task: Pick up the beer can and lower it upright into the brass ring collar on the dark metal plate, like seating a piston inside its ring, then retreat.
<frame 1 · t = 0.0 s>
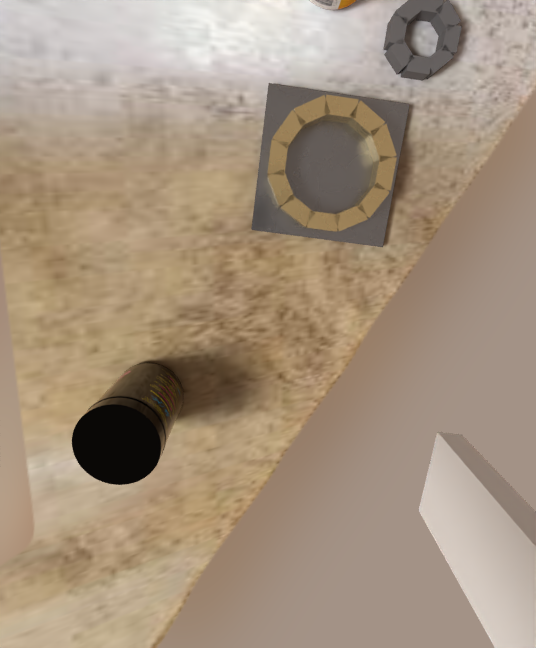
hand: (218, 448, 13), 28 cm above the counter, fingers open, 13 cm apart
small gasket: (418, 42, 35), on the counter
collar block: (326, 169, 37), on the counter
supplement container: (152, 391, 42), on the counter
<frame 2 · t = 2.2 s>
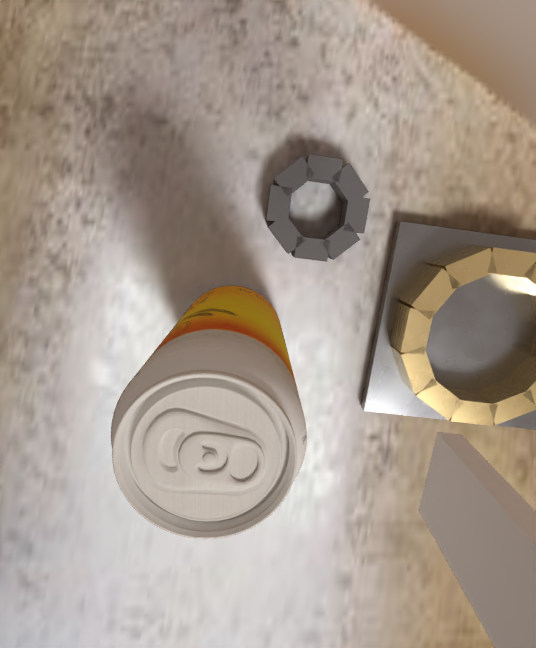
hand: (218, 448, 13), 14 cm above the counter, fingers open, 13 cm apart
beer can: (232, 330, 27), on the counter
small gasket: (314, 210, 25), on the counter
collar block: (468, 329, 27), on the counter
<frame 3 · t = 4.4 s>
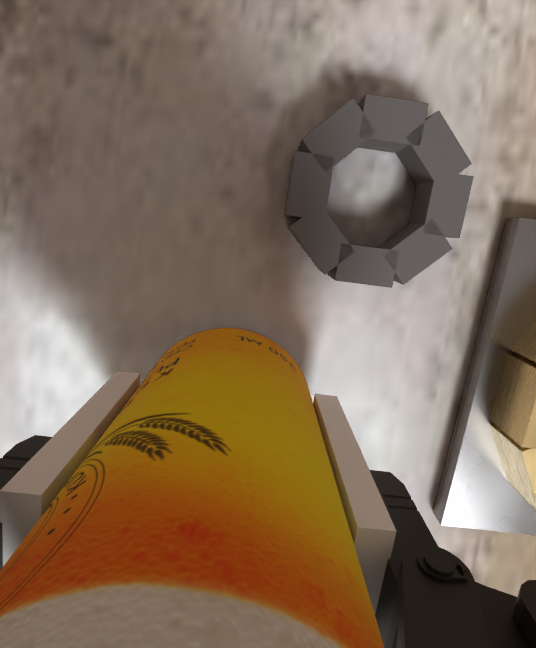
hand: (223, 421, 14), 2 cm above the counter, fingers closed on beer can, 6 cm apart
beer can: (229, 397, 16), on the counter, touching gripper
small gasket: (367, 198, 15), on the counter
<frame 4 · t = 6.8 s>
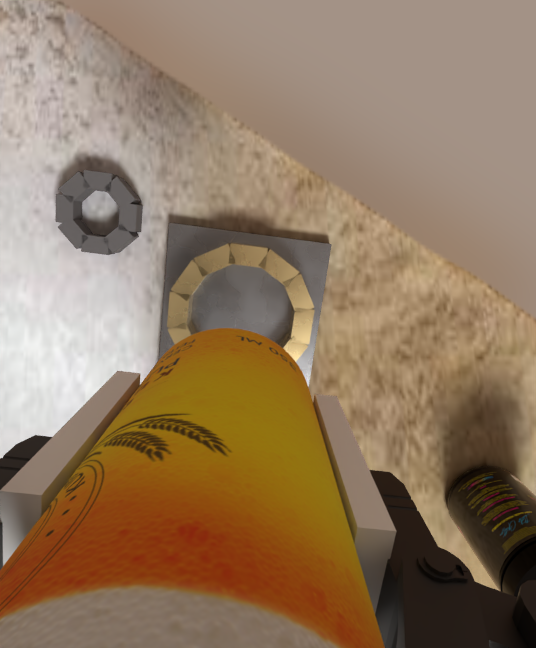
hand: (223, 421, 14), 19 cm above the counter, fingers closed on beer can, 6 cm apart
beer can: (229, 397, 16), point 17 cm above the counter, touching gripper
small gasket: (103, 213, 31), on the counter
collar block: (242, 310, 33), on the counter
supplement container: (480, 494, 38), on the counter
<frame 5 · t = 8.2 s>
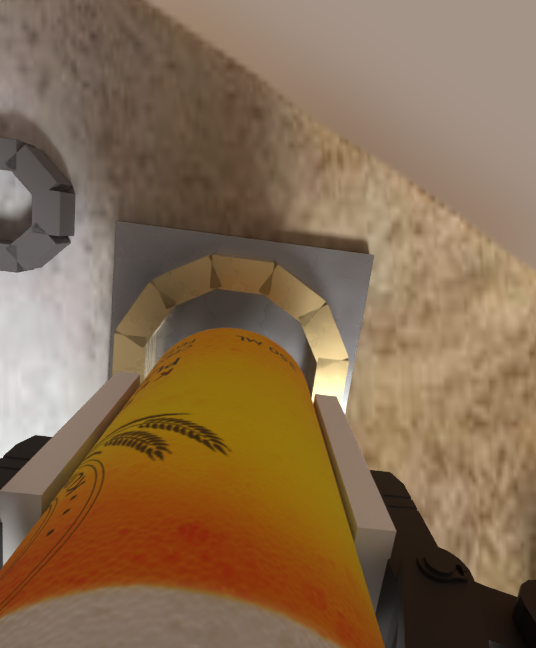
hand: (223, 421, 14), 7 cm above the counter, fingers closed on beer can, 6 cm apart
beer can: (229, 397, 16), point 5 cm above the counter, touching gripper
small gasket: (13, 207, 20), on the counter
collar block: (233, 356, 22), on the counter
when the fingers open (4 cm above the counter, at t = 9.2 s): beer can drops 1 cm, resting on collar block.
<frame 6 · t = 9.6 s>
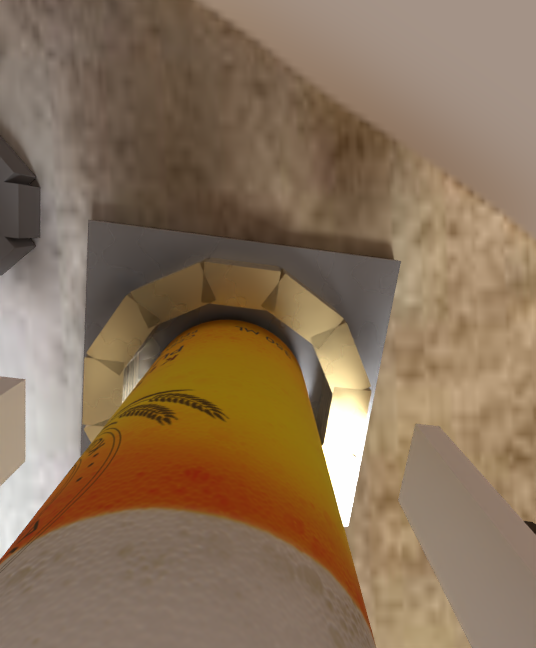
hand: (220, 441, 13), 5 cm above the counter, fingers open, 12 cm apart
beer can: (230, 384, 18), point 1 cm above the counter, touching collar block
collar block: (231, 380, 18), on the counter
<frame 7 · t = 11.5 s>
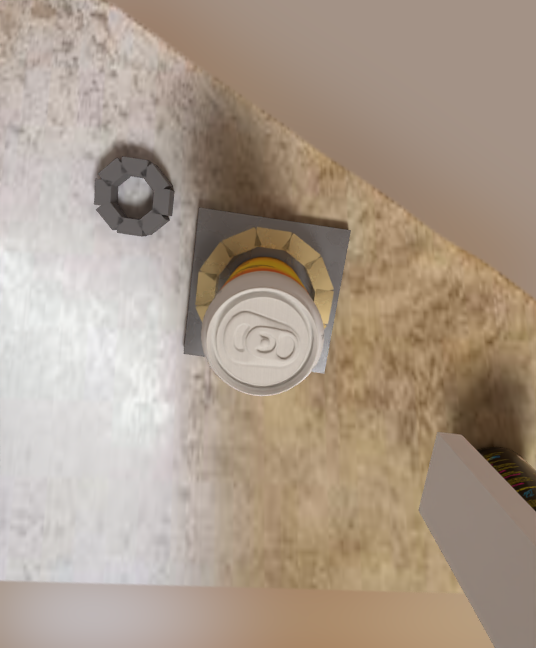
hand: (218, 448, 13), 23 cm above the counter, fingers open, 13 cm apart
beer can: (264, 293, 34), point 1 cm above the counter, touching collar block
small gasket: (137, 198, 33), on the counter
collar block: (264, 292, 35), on the counter
supplement container: (487, 474, 39), on the counter
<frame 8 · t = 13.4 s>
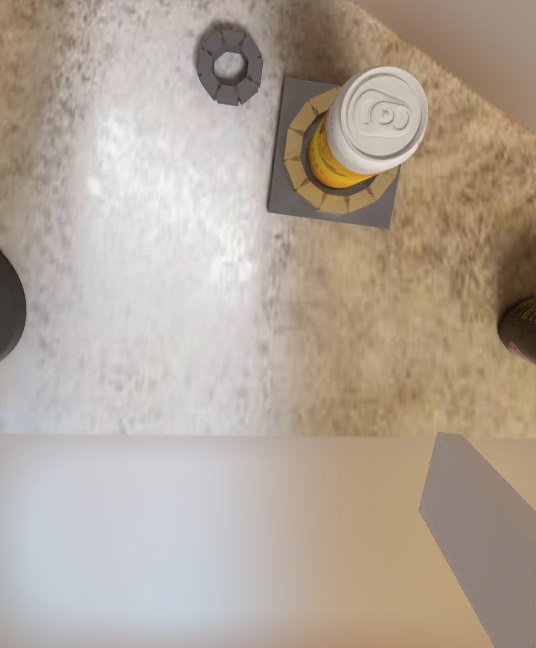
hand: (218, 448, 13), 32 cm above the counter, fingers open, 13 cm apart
beer can: (338, 155, 40), point 1 cm above the counter, touching collar block
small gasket: (231, 71, 39), on the counter
collar block: (337, 157, 41), on the counter
supplement container: (526, 325, 45), on the counter
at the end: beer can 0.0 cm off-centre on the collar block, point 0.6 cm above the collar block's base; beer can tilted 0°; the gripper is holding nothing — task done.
